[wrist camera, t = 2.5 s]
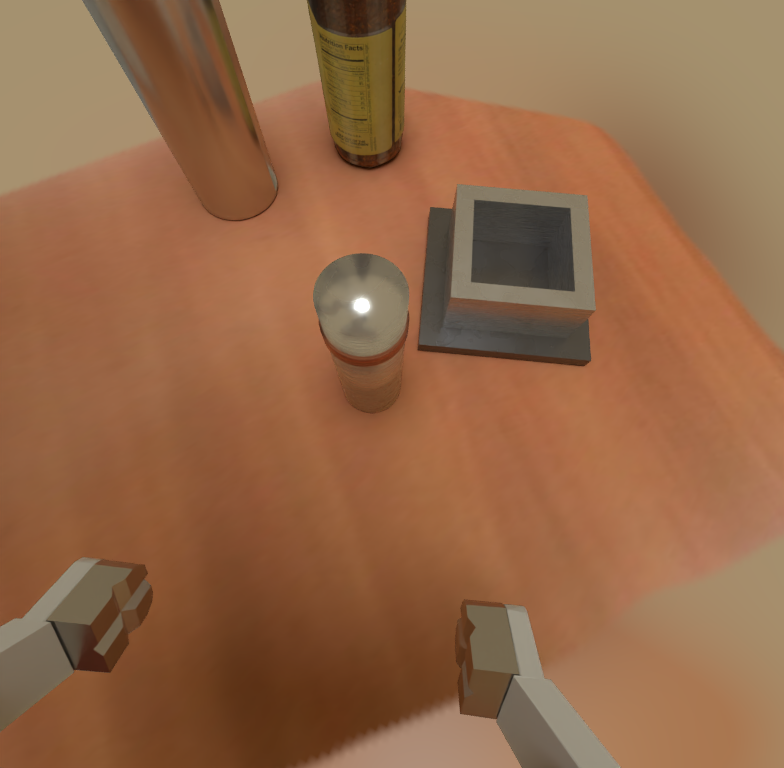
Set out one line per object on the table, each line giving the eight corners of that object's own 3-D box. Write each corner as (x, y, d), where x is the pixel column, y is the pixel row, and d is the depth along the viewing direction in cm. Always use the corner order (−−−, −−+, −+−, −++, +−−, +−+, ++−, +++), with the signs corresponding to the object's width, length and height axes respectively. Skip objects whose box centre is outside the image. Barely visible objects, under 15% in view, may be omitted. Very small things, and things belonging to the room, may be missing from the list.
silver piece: (226, 150, 35) (-119, -643, 11) (292, 175, 34) (73, -621, 10) (184, 204, 33) (-344, -613, 9) (252, 232, 32) (-130, -585, 8)
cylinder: (338, 411, 27) (303, 334, 16) (346, 354, 29) (319, 247, 17) (399, 417, 27) (407, 344, 16) (404, 360, 29) (415, 256, 17)
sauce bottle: (368, 108, 37) (348, -328, 18) (417, 145, 35) (453, -285, 16) (314, 146, 35) (231, -288, 16) (364, 186, 34) (335, -236, 15)
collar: (417, 350, 29) (424, 317, 24) (429, 216, 33) (436, 164, 28) (584, 365, 29) (623, 335, 24) (576, 229, 32) (608, 179, 28)
